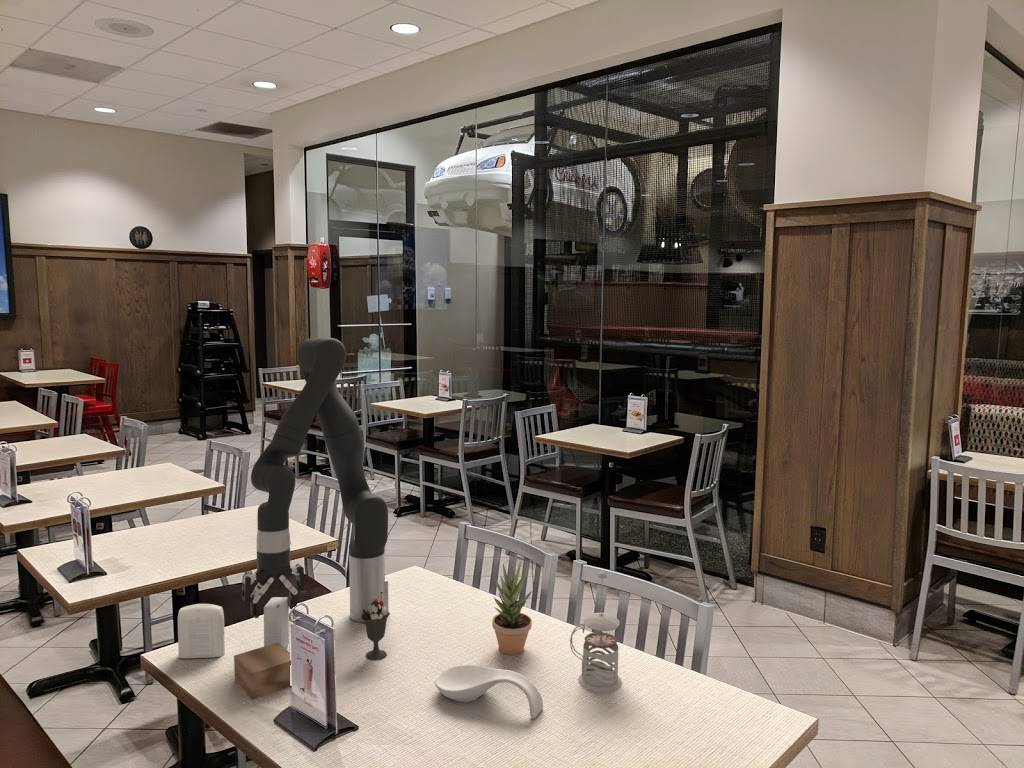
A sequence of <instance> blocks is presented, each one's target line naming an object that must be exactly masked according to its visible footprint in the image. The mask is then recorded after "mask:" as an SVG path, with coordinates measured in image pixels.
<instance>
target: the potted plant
mask: <svg viewBox="0 0 1024 768" xmlns="http://www.w3.org/2000/svg"><path fill="white" fill-rule="evenodd" d="M521 565H522V563H521V561H520V562H519V564H518V566H517V549H515V551H514V560H513V566H512V572H509V574H508V575H509V576H508V575H507V570H506V568H505V567H506V566H505V563H504V562H502V572H503V577H502V575H500V583H501V585H500V584H499V582H498V581H497V579H496V578H494V581H495V582H494V583H495V584H496V587H497V590H498V591H499V593H498V597H499V599H500V600H501V601H500V600H498V599H497V598H495V597H493V599H494V601H495V603H496V604H497V606H498V608H497V607H495V606H493V608H494V609H495V610H496V611H497V612H498V614H495V615H494V616H493V617H492V619H491V620H492V621H491V622H492V623H491V624H492V625H491V626H492V628H493V630H494V632H495V636H496V640H497V644H498V649H499V650H498V651H499V652H500V653H502V654H505V655H510V654H511V655H517V654H518V655H519V654H520V653H522V652H523V651H524V649H525V646H526V642H527V638H528V635H529V632H530V630H531V628H532V625H533V623H532V622H533V620H532V617H530V616H529V615H528V614H526V613H523V612H521V611H522V609H523V607H524V606H525V604H527V603H526V602H527V600H528V599H529V598H530V596H531V594H532V592H533V591H532V590H531V591H529V593H528V594H526V596H525V597H524V598H521V599H519V600H518V598H519V596H520V593H521V591H522V589H523V585H524V583H525V578H526V576H527V573H528V571H529V568H528V567H527V568H526V570H525V571H524V573H523V575H522V577H521V578H520V580H519V577H520V572H521ZM516 569H517V570H516Z"/></svg>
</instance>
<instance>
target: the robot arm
mask: <svg viewBox="0 0 1024 768" xmlns="http://www.w3.org/2000/svg"><path fill="white" fill-rule="evenodd" d="M296 355H297V362H298V366H299V368H300V371H301V374H302V376H303V378H304V380H305V385H304V386H303V388H302V389H301V390H300V392H299V394H298V395H297V396H296V397H295V398H294V400H293V401H292V402H291V403H290V405H288V407H287V408H286V410H285V411H284V413H283V415H282V416H281V418H280V420H279V422H278V424H277V426H276V427H277V428H276V429H275V432H274V434H273V437H272V438H271V439H272V440H271V441H270V442H269V444H268V445H267V446H266V448H264V450H263V452H262V453H261V454H260V456H259V457H258V459H257V460H256V462H255V463H254V465H253V467H252V469H251V474H250V481H251V482H250V483H251V484H252V487H253V488H255V489H256V490H258V491H261V492H265V493H268V498H267V501H265V502H262V503H260V505H259V506H258V507H257V517H256V518H257V519H256V520H257V522H256V523H257V531H256V572H255V573H254V574H247V573H245V574H243V575H242V580H241V599H242V600H243V601H244V602H245V603H250V605H249V606H250V608H249V609H250V614H251V616H252V617H254V619H259V618H260V603H259V600H260V599H261V597H262V596H264V594H265V593H266V592H267V591H268V592H269V591H274V590H275V589H276V590H277V589H282V588H283V587H284V586H285V588H287V590H288V591H289V592H288V598H289V609H290V610H291V609H292V608H293V607H295V606H296V607H297V605H298V593H300V592H303V591H305V589H306V582H305V568H304V567H303V566H302V565H301V564H300V563H296V564H295V566H291V544H292V542H291V533H290V506H291V504H292V500H293V496H294V492H295V488H296V476H295V472H294V471H293V468H291V466H289V465H287V464H284V463H285V462H286V461H287V460H288V459H289V458H292V457H298V455H299V454H300V453H301V450H302V448H303V446H304V443H305V441H306V439H307V436H308V434H309V431H310V428H311V427H312V423H313V422H314V419H315V417H316V415H317V417H318V421H319V424H320V428H321V433H322V436H323V439H324V442H325V445H326V449H327V451H328V454H329V457H330V461H331V464H332V468H333V470H334V473H335V476H336V478H337V482H338V487H339V493H340V498H341V504H342V510H343V513H344V515H345V518H346V519H347V520H348V521H349V522H350V523H351V524H352V525H354V539H353V540H352V541H350V542H349V545H348V558H349V559H348V562H349V563H348V565H349V566H348V567H349V569H348V571H349V573H348V574H349V576H348V577H349V617H350V619H351V621H354V622H357V623H365V620H362V617H361V614H362V613H363V611H362V610H363V609H365V611H366V610H367V607H368V606H369V604H371V603H372V602H373V601H374V600H375V599H377V598H378V597H379V598H378V599H377V600H378V602H380V601H381V598H382V601H383V602H384V606H385V607H386V609H387V611H388V612H389V611H390V610H389V580H388V579H387V578H386V558H385V557H386V555H385V554H386V553H385V551H386V545H387V542H388V537H389V536H388V535H389V534H388V533H389V532H388V531H389V508H388V504H387V503H386V501H385V499H384V498H382V497H381V496H379V495H377V494H375V493H373V492H372V490H371V489H370V487H369V484H368V481H367V478H366V476H365V471H364V454H365V442H364V438H363V434H362V431H361V427H360V423H359V420H358V418H357V416H356V414H355V412H354V411H353V410H352V408H351V406H350V405H349V403H347V401H346V400H345V398H344V397H343V395H342V394H341V393H340V391H339V389H338V387H337V384H336V380H337V379H338V377H339V375H340V374H341V372H342V370H343V369H344V366H345V364H346V361H347V349H346V347H345V345H344V344H343V342H342V341H340V340H338V339H337V338H333V337H316V338H315V337H313V338H307V339H304V340H303V341H302V342H301V343H300V344H299V345H298V349H297V354H296ZM292 574H293V575H295V579H296V580H295V581H296V582H295V583H296V585H293V584H292V583H291V582H290V581H289V578H290V577H291V576H292ZM254 581H256V582H257V584H256V586H255V587H253V588H254V590H253V591H252V593H251V588H252V586H251V585H253V584H254ZM380 592H383V593H382V597H381V594H380ZM296 607H295V608H296Z"/></svg>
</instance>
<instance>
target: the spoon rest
mask: <svg viewBox="0 0 1024 768" xmlns="http://www.w3.org/2000/svg"><path fill="white" fill-rule="evenodd" d="M501 683H508V684H511V685H513V686H515V687H517V688H518V689H519V690H521V691H522V692H523V694H524V695H525V697H526V699H527V701H528V704H529V705H528V706H529V713H530V714H529V715H530V718H531V719H533V720H534V719H536V717H537V716H538V715H539V714H540V713H541V712H542V710H543V709H544V704H543V698H542V696H541V695H542V694H541V692H540V691H539V689H538V688H537V686H536V685H535V684H534V683H533V682H531V680H530V679H529V678H527V677H525V676H524V675H522V674H521V673H519V672H516V671H514V670H508V669H499V668H491V667H487V666H481V665H476V664H475V665H474V664H463V665H461V664H460V665H457V666H453V667H450V668H448V669H445V670H443V671H442V672H441V673H440V674H438V675H437V677H436V678H435V681H434V686H435V687H436V689H437V690H438V692H440V693H441V694H442V695H443V696H445V697H446V698H448V699H451V700H454V701H457V702H460V703H469V702H473V701H475V700H477V699H478V698H479V697H481V696H482V695H484V694H485V693H487V691H488V690H490V689H491V688H492V687H494V686H495V685H498V684H501Z"/></svg>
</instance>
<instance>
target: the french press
mask: <svg viewBox="0 0 1024 768" xmlns="http://www.w3.org/2000/svg"><path fill="white" fill-rule="evenodd" d="M597 577H598V578H599V579H601V593H600V595H601V596H600V601H601V602H600V605H601V606H600V612H593V613H590V614H588V615H586V616H584V618H583V619H582V621H583V624H579V625H577V626H576V627H574V628H573V629H572V632H571V634H570V638H569V645H570V646H569V647H570V650H571V652H572V654H573V656H575V657H576V658H578V659H579V660H581V673H580V674H579V676H578V678H577V683H578V684H579V686H581V687H582V688H583V689H585V690H587V691H589V692H594V693H598V694H599V693H600V694H601V693H604V694H605V693H606V694H607V693H612V692H615V691H617V690H619V689H621V687H622V686H623V680H622V678H621V677H620V676H618V675H619V645H618V638H617V637H616V636H614V634H611V633H608V632H611V631H614V630H616V629H618V628H619V626H620V624H621V623H620V619H618V618H617V617H616V616H614V615H612V614H610V613H606V612H603V586H604V585H603V584H604V583H603V580H605V579H607V573H606V572H604V571H599V573H598V574H597ZM582 626H583V627H582ZM585 626H586V627H587V628H588V629H590V630H592V631H595V632H589V633H588V634H587V635H586V636H584V643H583V645H582V646H583V647H582V648H583V649H582V654H581V653H580V652H578V651H577V649H575V647H574V644H573V635H574V634H575V633H576V632H577V631H578V630H582V633H583V634H584V633H585V628H586V627H585ZM594 649H597V650H594ZM598 649H602V650H598ZM609 649H610V650H609ZM592 650H594V651H592ZM603 650H604V651H603ZM611 650H612V651H613V652H612V651H611ZM577 654H578V655H579V656H578V655H577ZM580 656H581V657H582V658H581V657H580ZM606 663H607V664H608V665H607V664H606Z"/></svg>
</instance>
